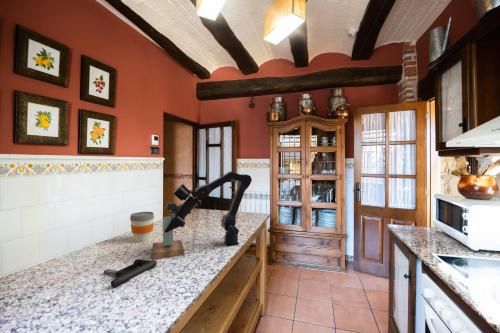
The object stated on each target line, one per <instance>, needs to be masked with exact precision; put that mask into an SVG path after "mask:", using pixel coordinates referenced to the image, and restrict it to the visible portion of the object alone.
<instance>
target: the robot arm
mask: <svg viewBox="0 0 500 333" xmlns="http://www.w3.org/2000/svg"><path fill="white" fill-rule="evenodd" d="M232 180H234V181H237V183H236V190H235V193H234V196H233V198H232V201H231V204H230V207H229V209H228V212H227V213H226V214H223V215H222V218H221V220H220V222H221V223H220V224H221V227H222V228H223V229H224V231H225V233H224V236H223V237H224V240H223V243H224V244H225V245H226V246H227V247H231V246H235V245H237V246H238V245H240V243H239V238H238V236H239V232H240V230H239V229H238V228H237V226H236V224H237V223H236V222H237V219H236V216H237V213H238V211H239V208H240V206H241V203H242V200H243V197H244V196H245V192H246V191H247V190H248V188H250V185H251V183H252V177H251V175H249V174H244V173H242V174H239V173H238V172H233V171H228V172H227V173H225V174H224V175H221V176H219V177H218V178H216V179H214V180H212V181H211V182H208V183H206V184H203V185H200V186H197V187H196V188H194V189H191V190H190V189H188V187H186V185H185V184H184V183H182V184H181V185H179V186H178V187H176V188H175V190H173V192H172V194H173V196H175V197H176V198H177V199H178V200H179V201H184V202H183V203H180V204H177V203H174V202H170V201H168V202H167V204H166V207H165V209H166V210H168V211H169V212H170V213H169V216H172V218H171V222H170V224H169V225H168V227H167V228H166V230H165V232H166V233H167V232H169V231H171V230H173V231H174V230H175V229H178V228H180V227H181V228H183V227H184V226H185V225H186V217H187V216H188V215H190V214H191V213H192V210H194V209H195V207H197V205H199V206H200V207H201V206H203V205H202V203H203V202H202V200H203V199H206V198H207V197H208V196H209V195H210V194H212V192H214V191H215V189H218V188H219V187H221V186H222V185H224V184H227V183H228V182H230V181H232Z"/></svg>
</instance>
